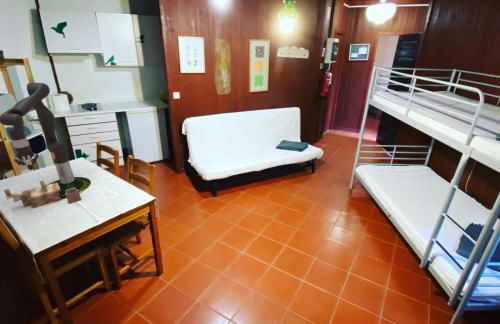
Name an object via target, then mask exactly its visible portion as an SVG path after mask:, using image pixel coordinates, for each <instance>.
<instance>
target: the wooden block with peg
mask: <svg viewBox="0 0 500 324" xmlns="http://www.w3.org/2000/svg"><path fill="white" fill-rule="evenodd" d="M3 192H4V193H5V198H6V200H11V199H13V198H15V197H19V196H23V193H22V192H23V191H19V192H14V193H11V191H10V189H9V188H7V189H4V190H3Z"/></svg>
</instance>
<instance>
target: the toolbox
mask: <svg viewBox="0 0 500 324" xmlns="http://www.w3.org/2000/svg"><path fill="white" fill-rule="evenodd" d="M59 192H60V191H58V192H54V193H51V194H47V195H43V196H40V197H36V198H33V199H32V198H31V195H30V191H29V192H28V193H25V194H23V196H20V198H21V200H20V201H21V203H22V205H23V207H24V208H27V207H31V209H35V208H38V207H42V206H45V205H49V204H52V203H56V202H59V201H61V200H62V198H61V195H60V193H59Z"/></svg>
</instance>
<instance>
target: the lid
mask: <svg viewBox="0 0 500 324" xmlns="http://www.w3.org/2000/svg"><path fill="white" fill-rule="evenodd" d="M39 183H40V184H39V185H40V186H38V187H36V188H35V187H34V188H31V189H28V190H29V191H30V195H31V198H32V199H33V198H36V197H40V196H43V195H47V194H51V193H54V192H61V188H60V186H59V183H58V182H53V183H49V184H46V183H45V180H40V181H39Z"/></svg>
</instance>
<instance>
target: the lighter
mask: <svg viewBox="0 0 500 324" xmlns="http://www.w3.org/2000/svg"><path fill="white" fill-rule="evenodd" d="M64 194H65V196H66V200H67V204H73V203H76V202H79V201H82V197H81V193H80V189H77V188H76V187H71V188H69V189H66V190H65V193H64Z"/></svg>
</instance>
